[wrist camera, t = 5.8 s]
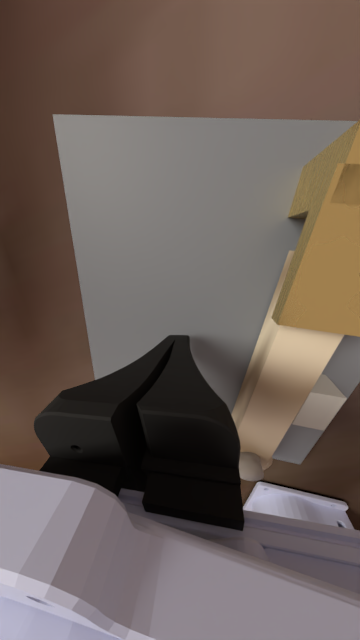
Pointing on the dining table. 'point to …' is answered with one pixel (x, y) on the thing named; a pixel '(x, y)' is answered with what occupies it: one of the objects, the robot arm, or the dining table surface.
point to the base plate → (190, 239)
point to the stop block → (320, 405)
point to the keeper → (326, 243)
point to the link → (277, 385)
